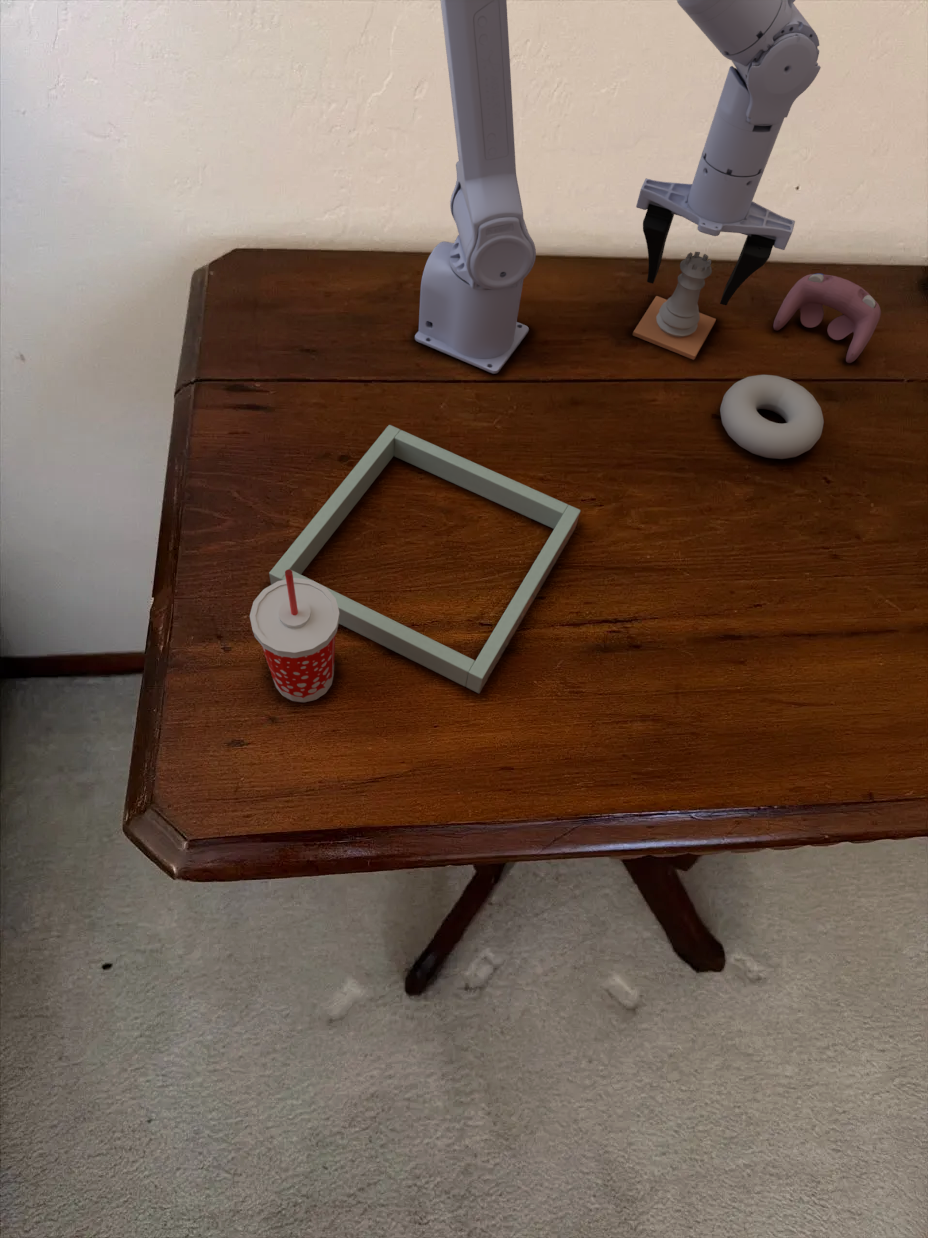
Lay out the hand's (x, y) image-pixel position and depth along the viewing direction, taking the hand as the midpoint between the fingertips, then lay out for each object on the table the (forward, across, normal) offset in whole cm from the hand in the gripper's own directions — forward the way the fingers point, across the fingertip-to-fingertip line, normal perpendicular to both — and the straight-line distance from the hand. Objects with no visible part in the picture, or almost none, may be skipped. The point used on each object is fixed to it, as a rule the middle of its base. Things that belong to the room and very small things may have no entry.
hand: (688, 288), depth 90 cm
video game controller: (+5, +15, +6) cm, 17 cm away
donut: (+5, +12, -11) cm, 17 cm away
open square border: (+5, -13, -39) cm, 41 cm away
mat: (+5, 0, 0) cm, 5 cm away
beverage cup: (+5, -18, -53) cm, 56 cm away
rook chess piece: (+5, 0, 0) cm, 5 cm away
